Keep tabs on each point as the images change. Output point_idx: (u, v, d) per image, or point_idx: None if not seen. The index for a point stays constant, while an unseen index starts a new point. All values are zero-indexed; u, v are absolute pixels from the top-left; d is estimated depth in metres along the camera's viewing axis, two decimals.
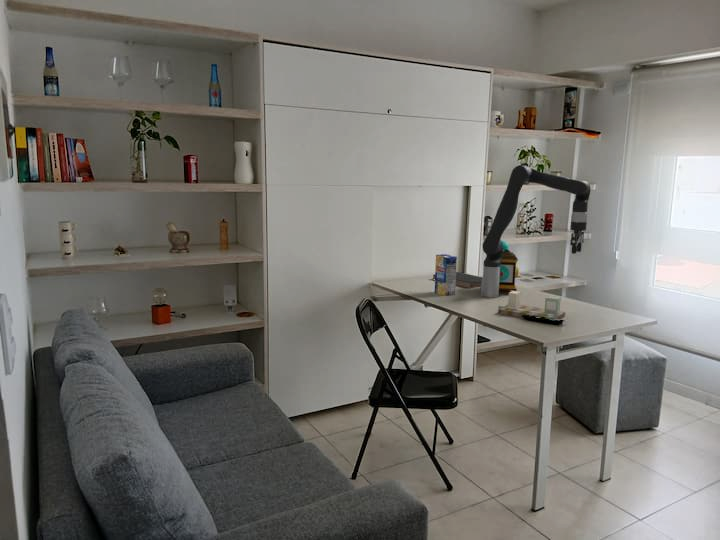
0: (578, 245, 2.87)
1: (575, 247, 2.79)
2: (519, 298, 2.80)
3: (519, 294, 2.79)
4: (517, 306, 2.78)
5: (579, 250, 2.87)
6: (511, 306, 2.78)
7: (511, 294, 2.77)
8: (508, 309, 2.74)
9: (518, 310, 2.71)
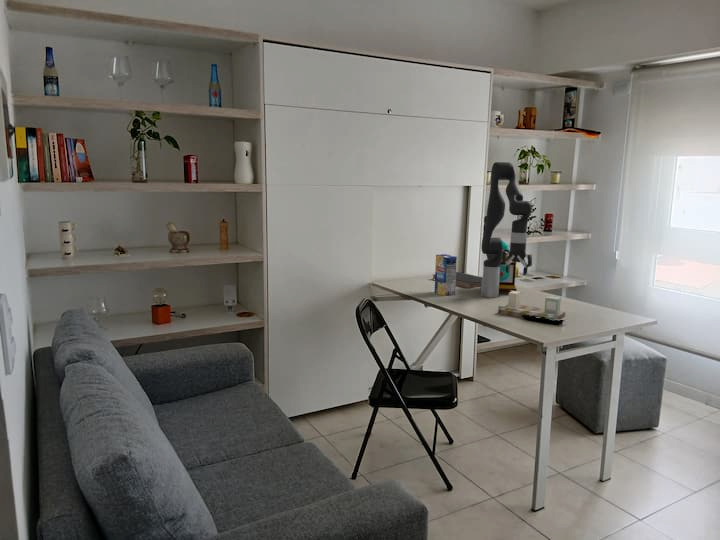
0: (508, 266, 2.79)
1: None
2: (519, 298, 2.80)
3: (519, 294, 2.79)
4: (517, 306, 2.78)
5: (509, 271, 2.80)
6: (511, 306, 2.78)
7: (511, 294, 2.77)
8: (508, 309, 2.74)
9: (518, 310, 2.71)
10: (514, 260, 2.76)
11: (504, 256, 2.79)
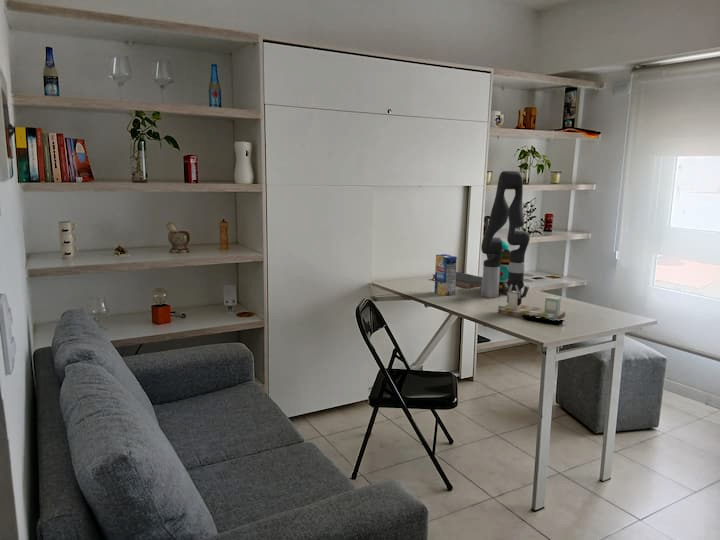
0: None
1: None
2: None
3: None
4: (517, 306, 2.78)
5: None
6: (511, 306, 2.78)
7: (511, 294, 2.77)
8: (508, 309, 2.74)
9: (518, 310, 2.71)
10: (514, 289, 2.78)
11: (503, 287, 2.81)
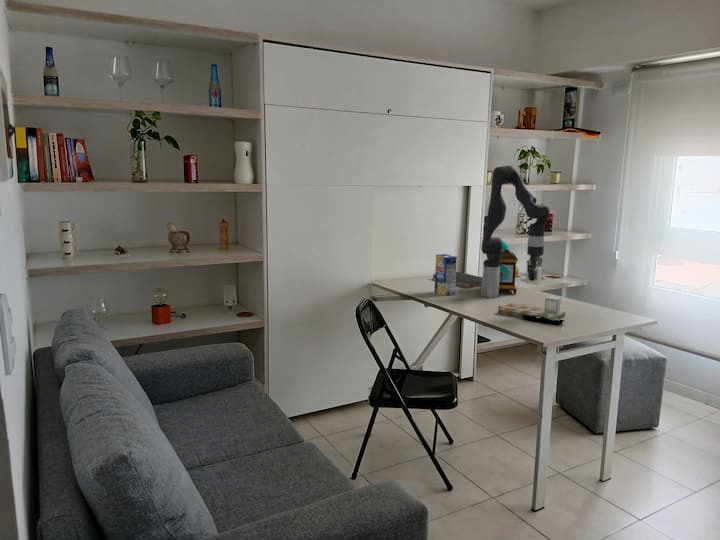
0: None
1: None
2: None
3: None
4: None
5: None
6: (539, 281, 2.71)
7: (539, 269, 2.70)
8: (508, 309, 2.74)
9: (518, 310, 2.71)
10: (536, 264, 2.71)
11: (532, 265, 2.66)
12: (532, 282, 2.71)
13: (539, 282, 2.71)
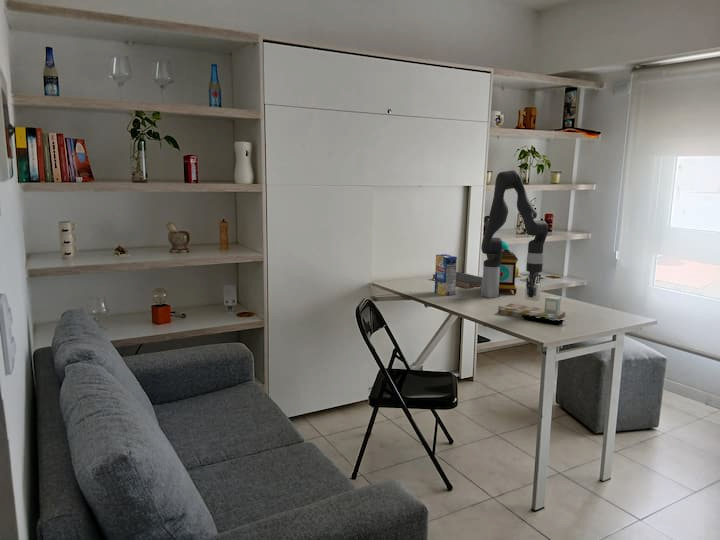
0: None
1: None
2: None
3: None
4: None
5: None
6: (538, 298, 2.72)
7: (538, 286, 2.71)
8: (508, 309, 2.74)
9: (518, 310, 2.71)
10: (535, 280, 2.72)
11: (531, 281, 2.68)
12: (531, 298, 2.72)
13: (538, 298, 2.72)
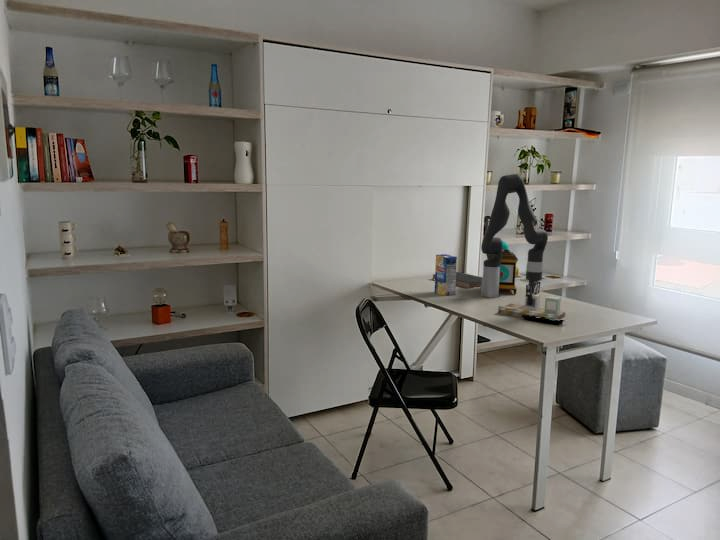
0: None
1: None
2: None
3: None
4: None
5: None
6: (537, 309, 2.73)
7: (538, 297, 2.72)
8: (508, 309, 2.74)
9: (518, 310, 2.71)
10: None
11: (531, 289, 2.68)
12: (530, 309, 2.74)
13: (537, 309, 2.74)
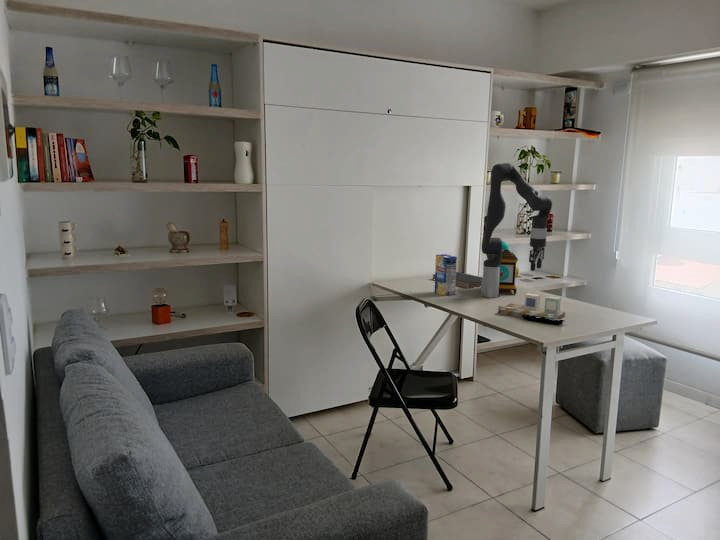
0: None
1: None
2: None
3: None
4: None
5: None
6: (537, 309, 2.73)
7: (538, 297, 2.72)
8: (508, 309, 2.74)
9: (518, 310, 2.71)
10: None
11: (534, 254, 2.69)
12: (530, 309, 2.74)
13: (537, 309, 2.74)
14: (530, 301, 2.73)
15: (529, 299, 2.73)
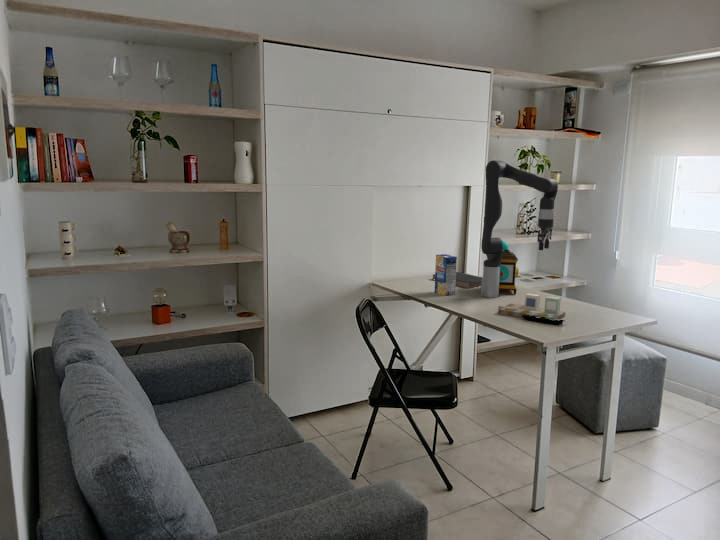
0: None
1: None
2: None
3: None
4: None
5: None
6: (537, 309, 2.73)
7: (538, 297, 2.72)
8: (508, 309, 2.74)
9: (518, 310, 2.71)
10: (546, 236, 2.86)
11: (543, 234, 2.82)
12: (530, 309, 2.74)
13: (537, 309, 2.74)
14: (530, 301, 2.73)
15: (529, 299, 2.73)
